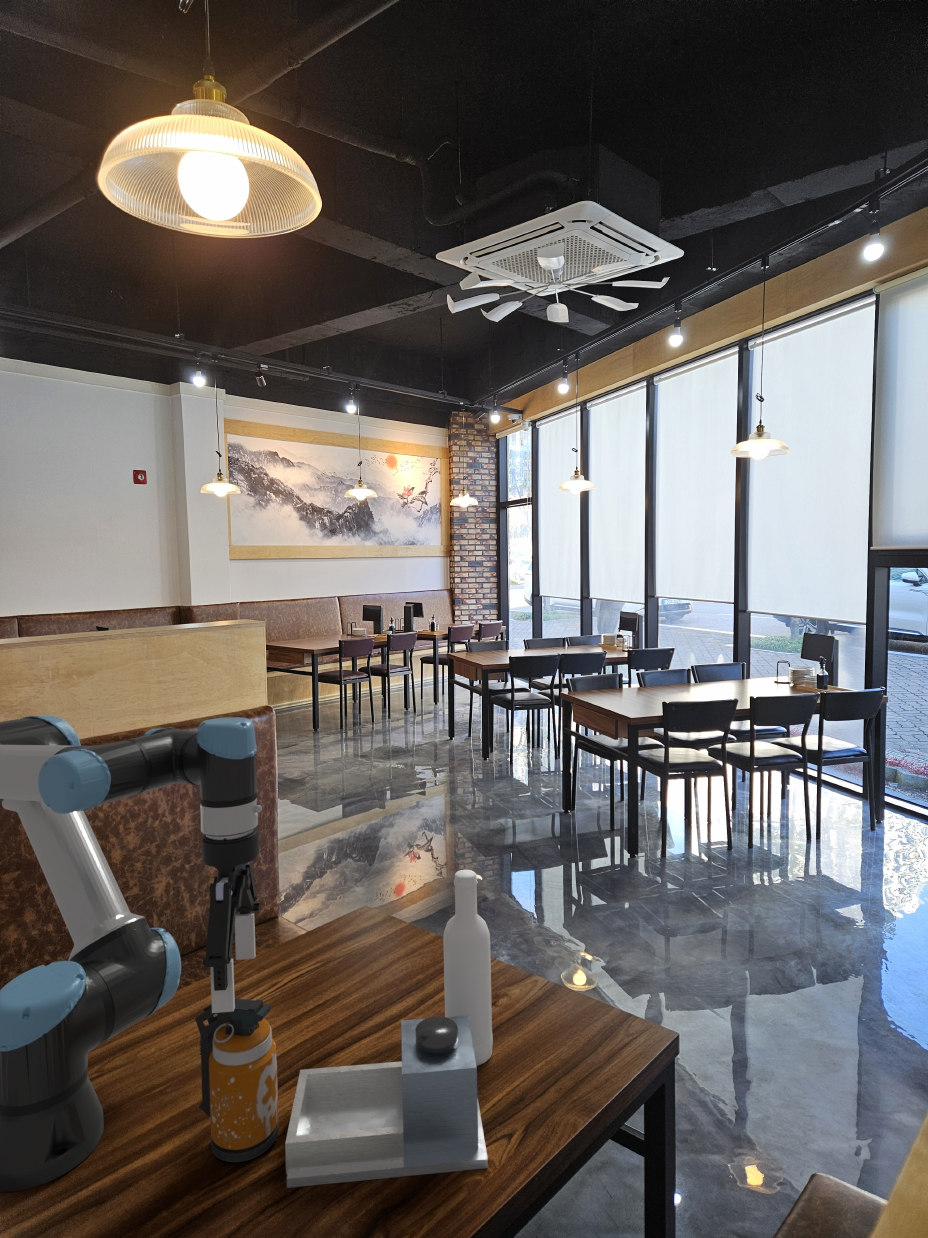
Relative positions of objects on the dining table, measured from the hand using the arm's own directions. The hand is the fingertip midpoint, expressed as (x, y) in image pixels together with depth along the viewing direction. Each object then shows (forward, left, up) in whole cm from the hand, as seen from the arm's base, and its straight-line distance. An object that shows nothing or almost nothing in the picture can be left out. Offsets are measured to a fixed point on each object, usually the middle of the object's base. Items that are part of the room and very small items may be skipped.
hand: (235, 983), depth 98 cm
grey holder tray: (+21, -1, -22) cm, 31 cm away
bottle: (+34, +15, -23) cm, 43 cm away
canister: (0, 0, -23) cm, 23 cm away
